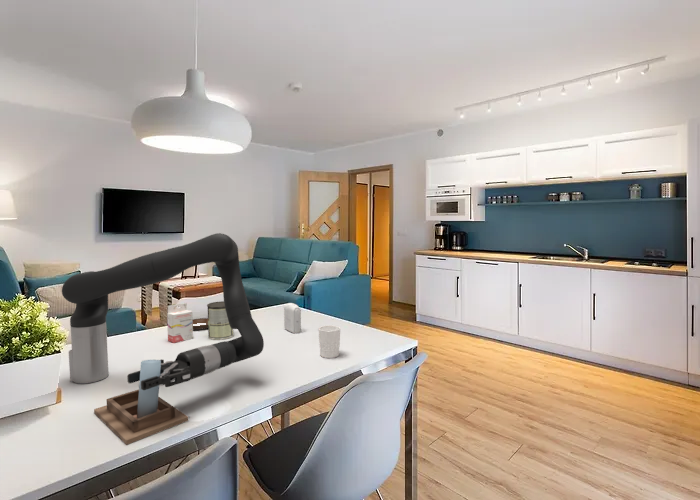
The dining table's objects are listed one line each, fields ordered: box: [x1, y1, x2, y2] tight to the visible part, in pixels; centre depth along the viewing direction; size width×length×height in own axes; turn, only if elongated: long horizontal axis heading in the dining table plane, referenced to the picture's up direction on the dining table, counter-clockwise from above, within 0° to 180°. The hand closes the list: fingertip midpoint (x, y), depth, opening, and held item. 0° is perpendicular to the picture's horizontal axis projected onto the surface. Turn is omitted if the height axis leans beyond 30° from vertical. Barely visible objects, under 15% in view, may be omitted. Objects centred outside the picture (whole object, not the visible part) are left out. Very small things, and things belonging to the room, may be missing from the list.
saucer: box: [192, 317, 208, 331], centre depth 183 cm, size 15×15×3 cm
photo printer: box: [283, 302, 302, 334], centre depth 176 cm, size 10×4×12 cm, turn 36°
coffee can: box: [206, 300, 234, 341], centre depth 167 cm, size 10×10×14 cm
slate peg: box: [137, 359, 161, 418], centre depth 96 cm, size 4×4×13 cm
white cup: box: [318, 324, 341, 359], centre depth 143 cm, size 8×8×10 cm
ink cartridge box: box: [166, 302, 194, 344], centre depth 163 cm, size 9×5×15 cm, turn 141°
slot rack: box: [93, 388, 190, 446], centre depth 99 cm, size 22×14×4 cm, turn 49°
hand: (135, 382), depth 93 cm, fingers open, 6 cm apart
